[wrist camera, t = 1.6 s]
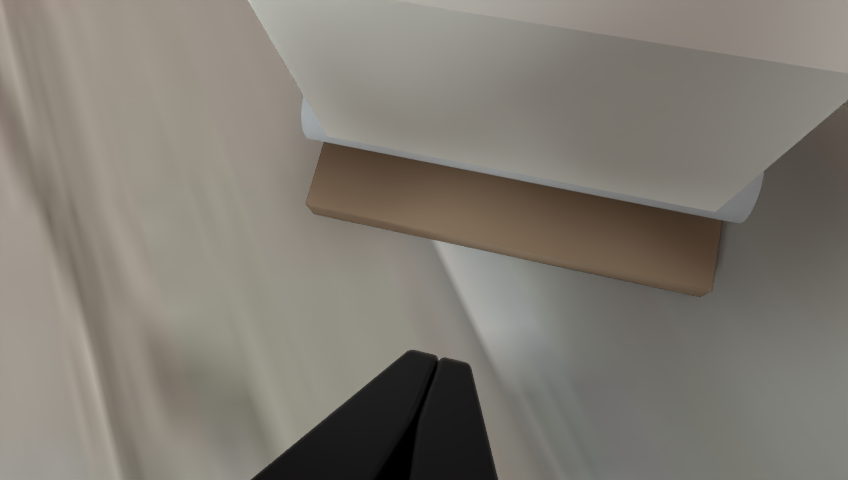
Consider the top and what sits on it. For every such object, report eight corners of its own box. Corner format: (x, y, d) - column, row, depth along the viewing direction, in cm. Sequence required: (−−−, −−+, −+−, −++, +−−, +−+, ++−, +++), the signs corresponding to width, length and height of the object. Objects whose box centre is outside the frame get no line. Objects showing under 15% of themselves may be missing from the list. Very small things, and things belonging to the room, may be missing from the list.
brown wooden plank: (700, 297, 22) (712, 290, 21) (313, 213, 24) (305, 204, 23) (764, -134, 26) (776, -159, 25) (428, -174, 28) (425, -199, 27)
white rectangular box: (727, 240, 21) (949, 90, 11) (311, 156, 23) (178, -34, 13) (754, 52, 23) (970, -233, 12) (362, -11, 25) (277, -297, 15)
